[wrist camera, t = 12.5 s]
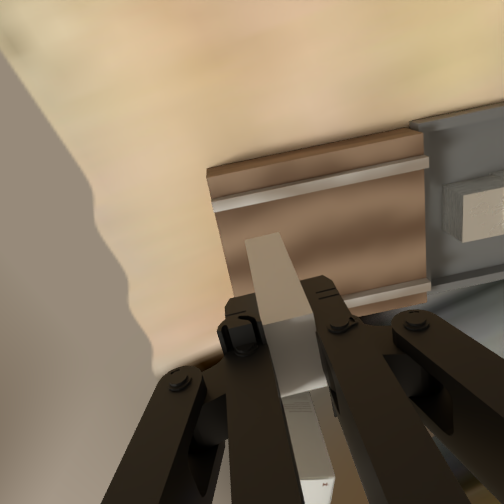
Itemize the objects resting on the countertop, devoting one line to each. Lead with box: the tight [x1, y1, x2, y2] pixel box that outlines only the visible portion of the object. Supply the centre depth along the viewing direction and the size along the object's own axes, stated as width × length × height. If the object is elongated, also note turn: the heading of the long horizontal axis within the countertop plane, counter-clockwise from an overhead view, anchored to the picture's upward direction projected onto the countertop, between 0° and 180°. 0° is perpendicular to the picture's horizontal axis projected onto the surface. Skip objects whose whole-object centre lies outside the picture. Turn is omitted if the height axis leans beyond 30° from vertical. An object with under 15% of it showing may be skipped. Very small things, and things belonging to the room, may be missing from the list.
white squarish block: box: [442, 176, 504, 243], centre depth 43 cm, size 5×5×4 cm
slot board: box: [206, 128, 431, 317], centre depth 43 cm, size 18×20×5 cm
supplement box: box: [281, 392, 335, 504], centre depth 49 cm, size 7×7×13 cm
